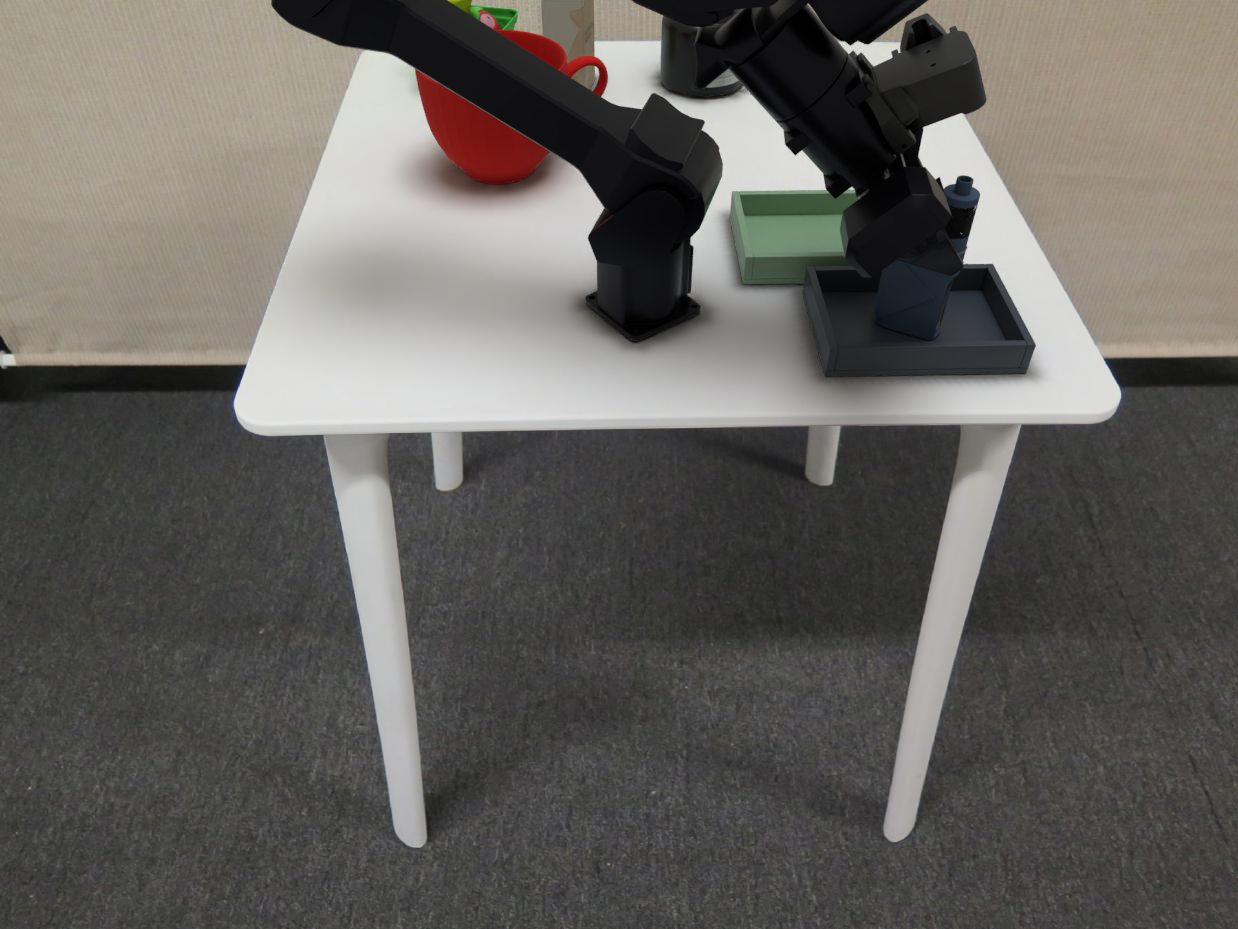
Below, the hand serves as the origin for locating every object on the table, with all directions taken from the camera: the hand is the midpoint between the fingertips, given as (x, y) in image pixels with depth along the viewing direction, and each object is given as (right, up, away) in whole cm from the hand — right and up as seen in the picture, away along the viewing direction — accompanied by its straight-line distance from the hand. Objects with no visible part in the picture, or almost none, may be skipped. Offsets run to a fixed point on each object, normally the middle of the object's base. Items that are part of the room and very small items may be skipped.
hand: (949, 247), depth 70 cm
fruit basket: (-39, +26, +38) cm, 61 cm away
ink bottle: (-14, +25, +37) cm, 47 cm away
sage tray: (-6, +3, +13) cm, 15 cm away
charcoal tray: (-1, -5, +5) cm, 7 cm away
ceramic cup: (-32, +13, +24) cm, 42 cm away
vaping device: (-2, -5, +5) cm, 7 cm away
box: (-28, +24, +36) cm, 52 cm away
